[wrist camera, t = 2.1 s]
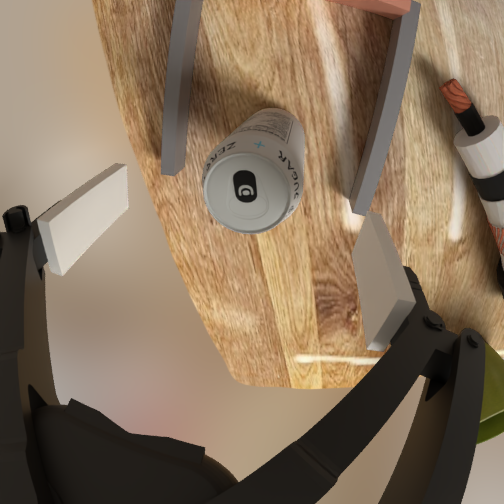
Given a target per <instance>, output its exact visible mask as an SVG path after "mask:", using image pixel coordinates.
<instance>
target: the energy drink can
mask: <svg viewBox="0 0 504 504" xmlns="http://www.w3.org/2000/svg"><path fill="white" fill-rule="evenodd" d="M304 148H305V135H304V130H303V128H302V125H301V124H300V122H299V121H298V119H297V118H296V117H295V116H294V115H292V114H291V113H289V112H287V111H285V110H283V109H279V108H266V109H262V110H260V111H257V112H256V113H254V114H253V115H252V116H250V117H249V118H248V119H247V120H246V121H245V122H243V123H242V124H241V125H240V126H239V127H238V128H236V129H235V130H234V131H233V132H232V133H231V134H230V135H229V136H227V137H226V138H225V139H224V140H223V141H222V142H221V143H220V144H219V145H217V146H216V148H215V149H214V150H213V151H212V152H211V153H210V155H209V156H208V158H207V160H206V162H205V165H204V168H203V174H202V183H203V195H204V200H205V204H206V206H207V208H208V210H209V212H210V213H211V215H212V216H213V217H214V218H215V219H216V220H217V221H218V222H219V223H220V224H221V225H223V226H224V227H226V228H228V229H230V230H232V231H235V232H238V233H242V234H259V233H263V232H266V231H269V230H271V229H273V228H274V227H276V226H277V225H278V224H279V223H281V222H282V221H284V220H285V219H286V218H288V217H289V216H290V215H291V214H292V213H293V212H294V211H295V209H296V208H297V206H298V204H299V202H300V200H301V197H302V193H303V180H304Z"/></svg>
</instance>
